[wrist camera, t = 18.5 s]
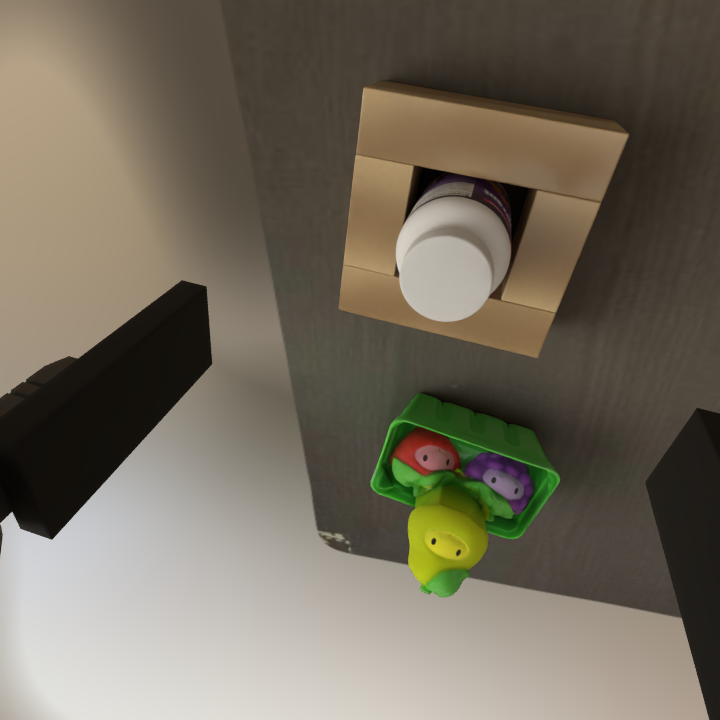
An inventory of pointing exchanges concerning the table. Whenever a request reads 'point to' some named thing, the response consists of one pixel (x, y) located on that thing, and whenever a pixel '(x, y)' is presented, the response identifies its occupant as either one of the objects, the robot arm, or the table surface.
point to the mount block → (486, 161)
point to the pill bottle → (454, 246)
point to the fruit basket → (460, 485)
